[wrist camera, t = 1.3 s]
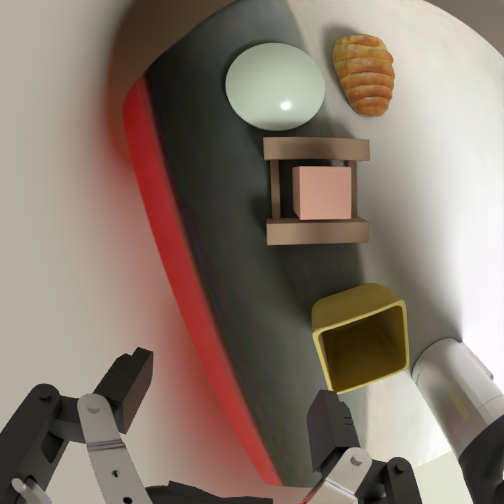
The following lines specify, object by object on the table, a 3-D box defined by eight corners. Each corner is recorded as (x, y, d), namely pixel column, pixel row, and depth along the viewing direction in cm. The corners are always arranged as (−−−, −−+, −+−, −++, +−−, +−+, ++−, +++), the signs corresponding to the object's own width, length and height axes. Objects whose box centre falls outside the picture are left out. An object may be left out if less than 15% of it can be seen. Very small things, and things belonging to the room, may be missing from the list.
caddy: (358, 142, 27) (369, 139, 24) (358, 235, 29) (368, 242, 26) (263, 141, 27) (263, 137, 24) (267, 237, 30) (267, 244, 27)
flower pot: (317, 349, 34) (330, 398, 25) (299, 289, 31) (311, 332, 23) (382, 326, 32) (409, 368, 24) (371, 265, 30) (405, 298, 22)
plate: (319, 47, 24) (320, 44, 23) (326, 131, 27) (328, 130, 26) (225, 49, 24) (224, 45, 23) (228, 133, 27) (227, 132, 26)
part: (334, 167, 28) (351, 167, 22) (334, 209, 29) (351, 218, 23) (292, 167, 28) (299, 166, 22) (293, 210, 29) (300, 219, 23)
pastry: (394, 120, 26) (409, 114, 22) (338, 117, 26) (347, 110, 23) (381, 47, 23) (393, 34, 20) (326, 41, 24) (333, 27, 20)
